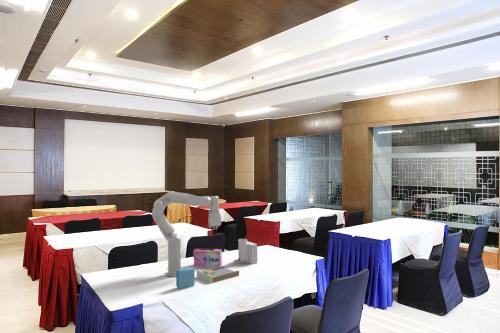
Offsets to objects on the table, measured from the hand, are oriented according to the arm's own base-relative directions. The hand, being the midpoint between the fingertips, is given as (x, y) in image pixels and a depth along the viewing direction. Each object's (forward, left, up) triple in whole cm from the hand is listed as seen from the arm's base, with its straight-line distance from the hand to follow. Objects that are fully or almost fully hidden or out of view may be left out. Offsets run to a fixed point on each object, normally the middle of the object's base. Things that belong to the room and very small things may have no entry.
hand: (214, 234), depth 282 cm
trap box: (+14, -7, -29) cm, 33 cm away
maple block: (+16, -16, -27) cm, 35 cm away
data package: (+18, -38, -29) cm, 51 cm away
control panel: (-1, +31, -29) cm, 43 cm away
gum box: (-15, +4, -29) cm, 33 cm away
